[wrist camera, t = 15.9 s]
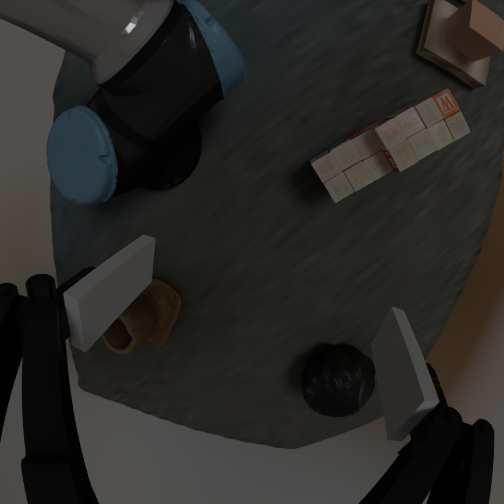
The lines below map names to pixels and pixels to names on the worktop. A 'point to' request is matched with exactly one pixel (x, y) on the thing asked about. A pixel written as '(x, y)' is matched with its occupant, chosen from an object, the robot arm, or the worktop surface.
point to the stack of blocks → (390, 144)
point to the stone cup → (144, 319)
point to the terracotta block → (475, 31)
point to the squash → (338, 381)
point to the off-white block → (476, 0)
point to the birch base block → (448, 47)
